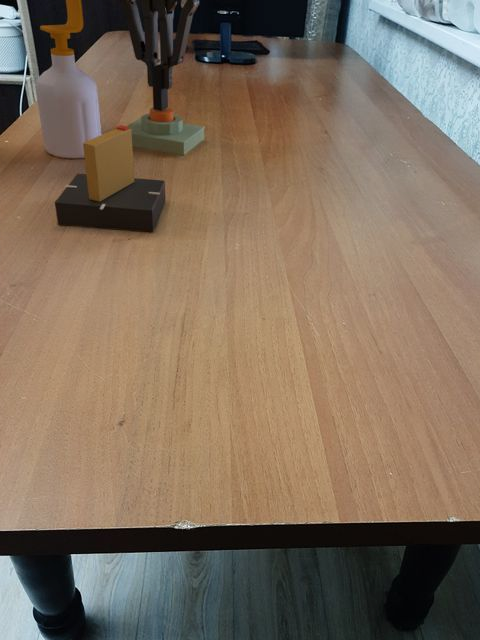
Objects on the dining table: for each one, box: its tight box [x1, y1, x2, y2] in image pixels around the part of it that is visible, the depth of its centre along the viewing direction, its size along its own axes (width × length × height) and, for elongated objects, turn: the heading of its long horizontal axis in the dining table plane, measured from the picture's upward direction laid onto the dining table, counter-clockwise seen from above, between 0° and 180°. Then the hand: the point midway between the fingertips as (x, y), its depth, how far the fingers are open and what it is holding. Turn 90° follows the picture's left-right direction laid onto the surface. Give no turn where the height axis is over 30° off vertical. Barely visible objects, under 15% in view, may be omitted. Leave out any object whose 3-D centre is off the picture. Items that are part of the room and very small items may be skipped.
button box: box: [126, 112, 205, 156], centre depth 99 cm, size 12×10×4 cm
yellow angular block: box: [83, 125, 135, 202], centre depth 72 cm, size 8×2×7 cm, turn 158°
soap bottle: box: [35, 0, 102, 160], centre depth 86 cm, size 9×9×25 cm
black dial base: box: [54, 173, 166, 233], centre depth 75 cm, size 12×12×3 cm
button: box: [149, 107, 174, 122], centre depth 98 cm, size 4×4×2 cm
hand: (160, 108), depth 97 cm, fingers closed
